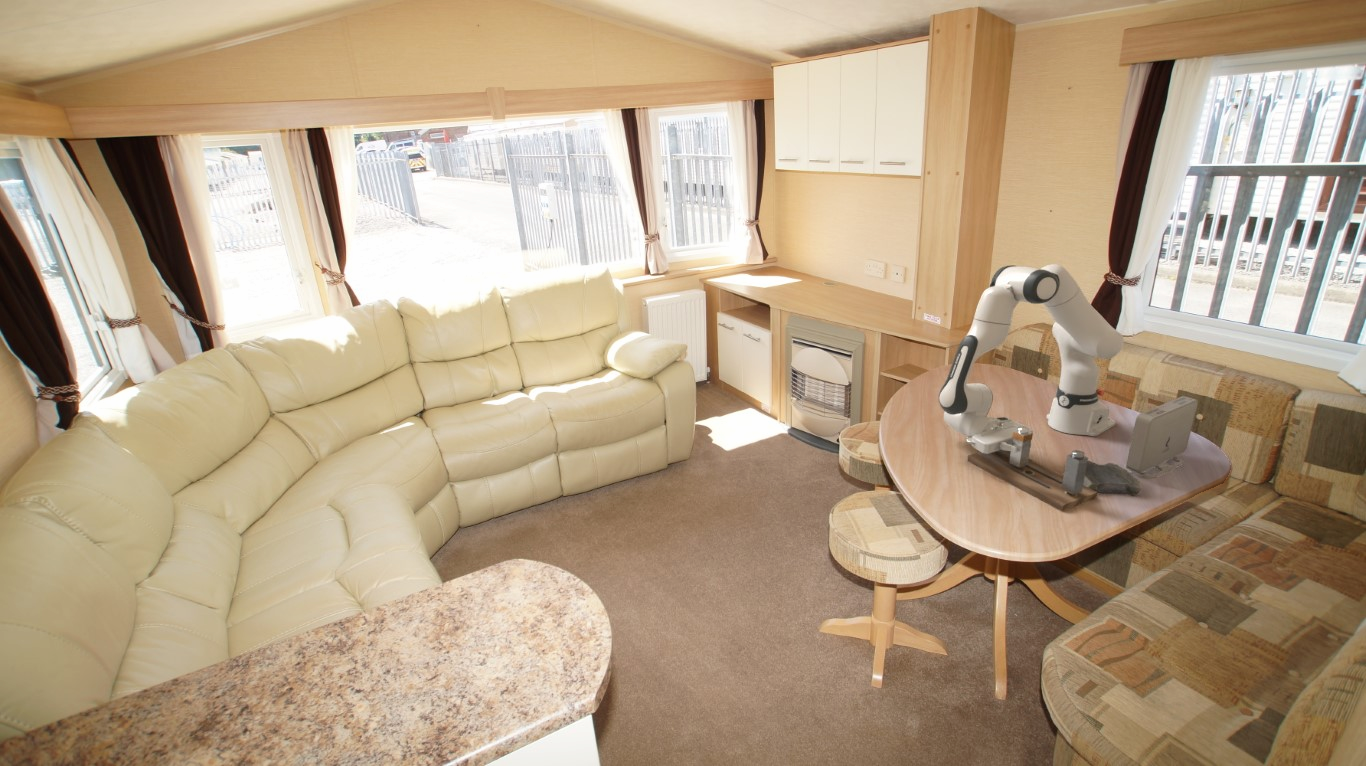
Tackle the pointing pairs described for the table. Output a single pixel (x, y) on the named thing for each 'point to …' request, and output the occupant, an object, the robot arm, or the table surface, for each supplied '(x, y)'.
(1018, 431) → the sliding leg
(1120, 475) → the fossil
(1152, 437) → the network device
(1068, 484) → the fixed leg
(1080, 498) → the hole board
